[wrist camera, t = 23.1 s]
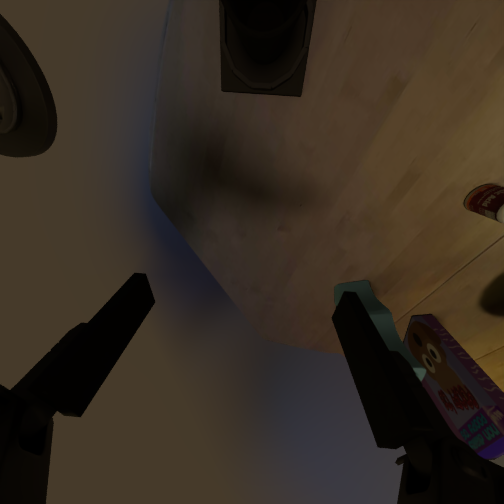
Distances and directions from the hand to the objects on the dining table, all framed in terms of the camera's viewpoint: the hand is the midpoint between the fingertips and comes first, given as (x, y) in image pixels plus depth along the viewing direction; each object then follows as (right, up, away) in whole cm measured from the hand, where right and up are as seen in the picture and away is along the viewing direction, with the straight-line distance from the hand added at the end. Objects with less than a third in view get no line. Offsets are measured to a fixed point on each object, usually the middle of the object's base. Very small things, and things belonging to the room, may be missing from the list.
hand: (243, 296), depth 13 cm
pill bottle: (+42, +13, +21) cm, 48 cm away
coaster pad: (+2, +31, +11) cm, 33 cm away
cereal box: (+49, -21, +42) cm, 68 cm away
